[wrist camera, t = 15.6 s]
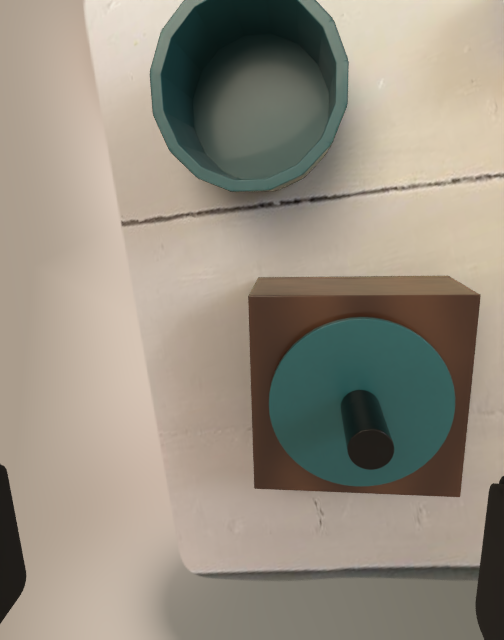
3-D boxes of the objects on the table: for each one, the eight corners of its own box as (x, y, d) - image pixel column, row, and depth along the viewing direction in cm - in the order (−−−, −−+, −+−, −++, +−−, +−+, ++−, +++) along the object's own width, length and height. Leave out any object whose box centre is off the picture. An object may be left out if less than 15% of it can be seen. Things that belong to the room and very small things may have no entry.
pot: (190, 193, 37) (158, 194, 29) (180, 31, 34) (142, -19, 26) (336, 188, 36) (345, 188, 28) (339, 20, 33) (351, -36, 25)
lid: (271, 474, 35) (263, 537, 29) (268, 314, 32) (258, 345, 26) (443, 481, 34) (475, 548, 27) (458, 314, 30) (498, 346, 24)
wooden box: (262, 441, 42) (254, 488, 36) (258, 277, 38) (248, 295, 32) (434, 446, 41) (460, 497, 34) (448, 275, 37) (480, 294, 30)
